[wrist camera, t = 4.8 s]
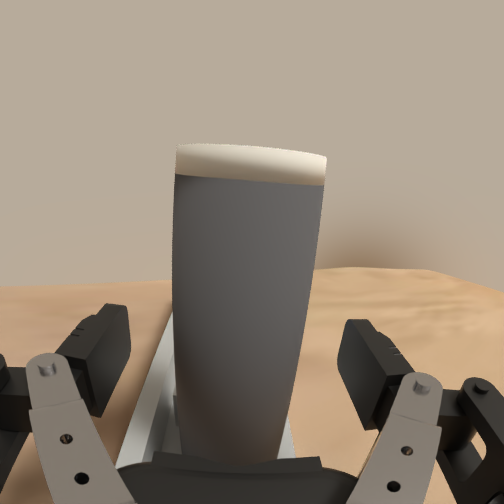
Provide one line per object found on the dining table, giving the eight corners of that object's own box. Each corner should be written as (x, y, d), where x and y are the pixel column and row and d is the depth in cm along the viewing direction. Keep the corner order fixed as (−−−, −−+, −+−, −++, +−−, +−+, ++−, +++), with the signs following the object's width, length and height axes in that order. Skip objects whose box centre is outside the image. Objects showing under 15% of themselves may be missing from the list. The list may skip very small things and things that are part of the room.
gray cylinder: (179, 500, 11) (160, 141, 7) (188, 436, 15) (189, 149, 11) (276, 504, 11) (348, 157, 7) (269, 440, 15) (308, 158, 11)
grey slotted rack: (121, 562, 7) (94, 532, 6) (188, 309, 32) (188, 272, 31) (311, 572, 8) (337, 547, 7) (265, 314, 33) (269, 278, 32)
